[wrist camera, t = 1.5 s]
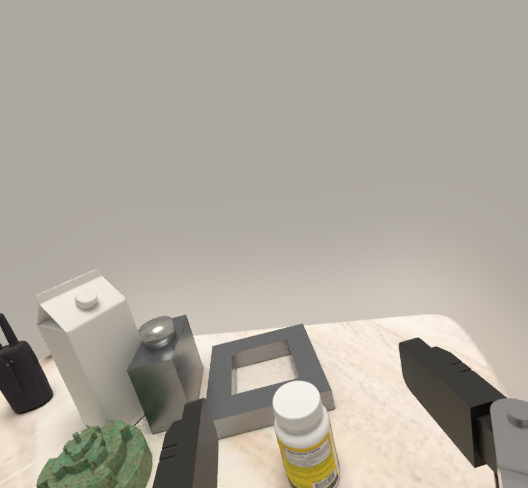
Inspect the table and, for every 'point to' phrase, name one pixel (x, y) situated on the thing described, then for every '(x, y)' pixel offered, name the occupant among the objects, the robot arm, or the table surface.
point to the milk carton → (92, 347)
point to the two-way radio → (21, 373)
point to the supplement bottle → (305, 436)
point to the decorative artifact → (101, 460)
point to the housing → (216, 375)
